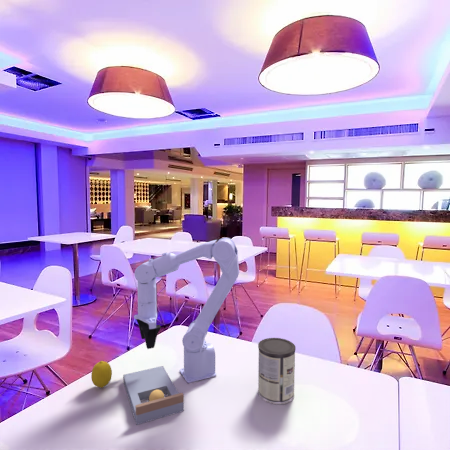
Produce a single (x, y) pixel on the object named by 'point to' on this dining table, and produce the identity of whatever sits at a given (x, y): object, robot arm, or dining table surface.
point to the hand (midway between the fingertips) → (147, 342)
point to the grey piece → (141, 389)
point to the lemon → (101, 374)
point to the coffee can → (276, 370)
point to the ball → (156, 395)
